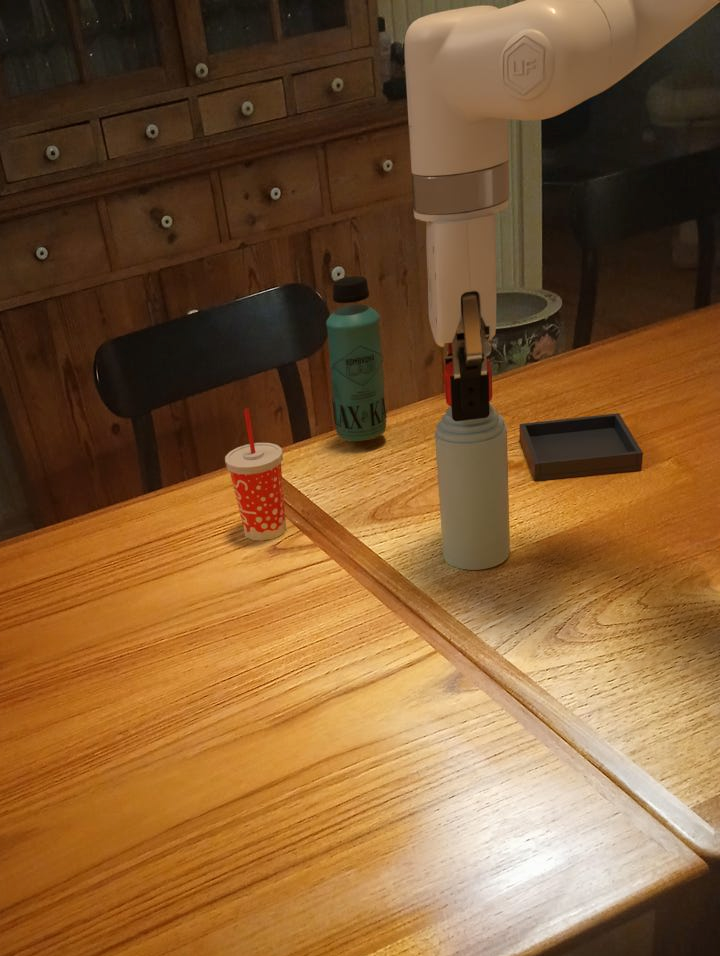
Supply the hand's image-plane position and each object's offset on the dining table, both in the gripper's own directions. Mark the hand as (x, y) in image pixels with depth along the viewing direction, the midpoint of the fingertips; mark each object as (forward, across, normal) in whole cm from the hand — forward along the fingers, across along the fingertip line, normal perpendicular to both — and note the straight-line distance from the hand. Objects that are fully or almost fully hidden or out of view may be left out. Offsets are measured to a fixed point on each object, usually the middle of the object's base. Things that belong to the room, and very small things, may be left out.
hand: (467, 406), depth 88 cm
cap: (-1, 0, 0) cm, 1 cm away
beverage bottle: (+15, -30, -10) cm, 35 cm away
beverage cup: (+15, -9, -21) cm, 28 cm away
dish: (+15, -20, +14) cm, 29 cm away
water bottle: (+15, 0, 0) cm, 15 cm away
